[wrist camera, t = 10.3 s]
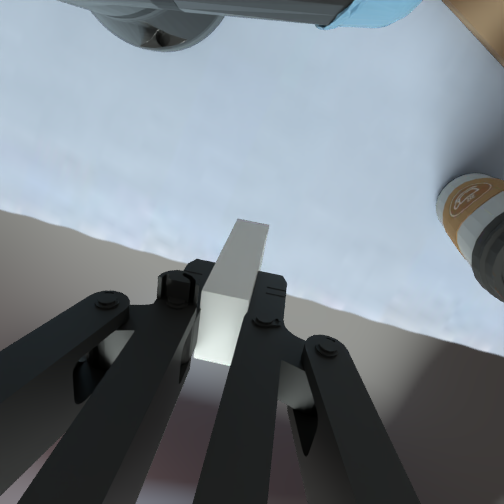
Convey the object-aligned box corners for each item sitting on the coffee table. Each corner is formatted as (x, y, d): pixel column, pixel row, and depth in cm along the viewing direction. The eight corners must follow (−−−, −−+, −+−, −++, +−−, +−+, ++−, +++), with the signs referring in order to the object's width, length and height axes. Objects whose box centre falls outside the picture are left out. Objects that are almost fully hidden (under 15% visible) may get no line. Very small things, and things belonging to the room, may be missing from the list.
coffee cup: (475, 144, 37) (573, 182, 23) (528, 199, 38) (648, 265, 25) (407, 204, 40) (458, 267, 27) (458, 252, 42) (530, 336, 28)
